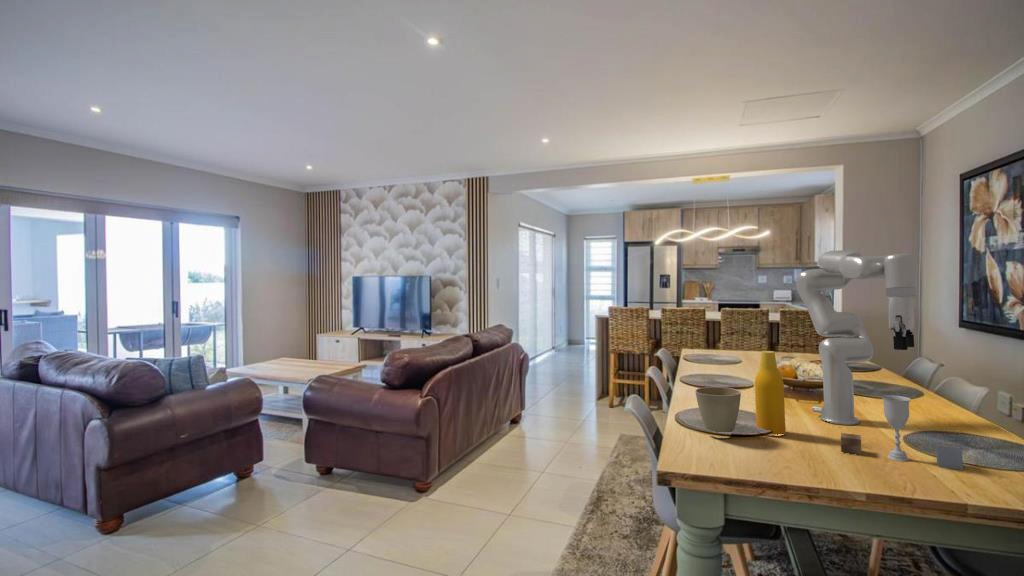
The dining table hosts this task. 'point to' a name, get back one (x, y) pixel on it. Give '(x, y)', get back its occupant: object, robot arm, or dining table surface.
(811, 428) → the dining table surface
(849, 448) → the walnut block
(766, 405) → the beer bottle
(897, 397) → the chalice
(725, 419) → the plant pot
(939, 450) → the slate block
